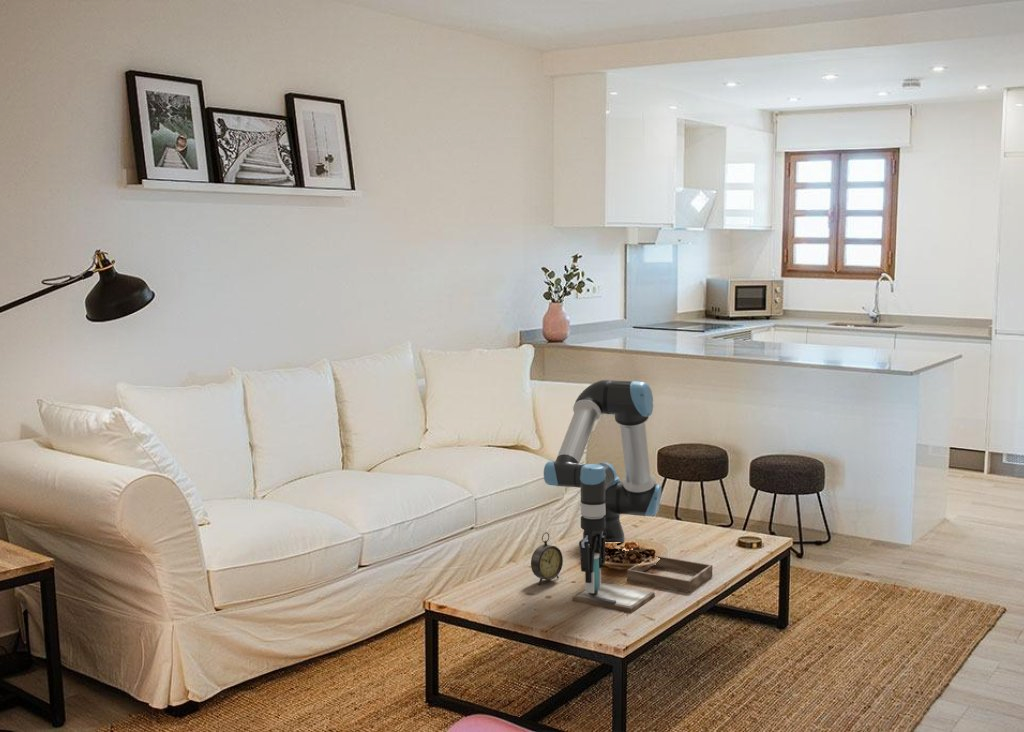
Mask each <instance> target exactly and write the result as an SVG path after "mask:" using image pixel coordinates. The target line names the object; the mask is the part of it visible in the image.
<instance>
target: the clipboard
mask: <svg viewBox="0 0 1024 732" xmlns="http://www.w3.org/2000/svg"><path fill="white" fill-rule="evenodd" d="M654 597H656V593H655V592H653V591H649V590H644V589H643V590H642V589H638V588H633V587H627V586H624V585H623V586H622V585H617V584H612V583H606V582H602V581H601V589H599V590H598V594H597V595H590V594H589V592H585V588H584V589H583V590H581V591H580V592H577V593H576V594H574V595H573V596H572V601H574V602H579V603H582V604H583V603H584V604H589V605H594V606H599V607H603V608H609V609H613V610H618V611H623V612H626V613H632V612H634V611H636V610H637V609H639V608H640V607H641V606H643V605H644V604H645V603H647V602H648V601H650V600H651V599H653V598H654Z"/></svg>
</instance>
